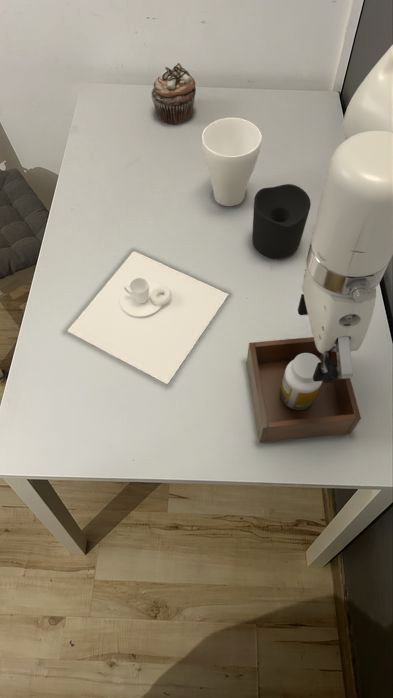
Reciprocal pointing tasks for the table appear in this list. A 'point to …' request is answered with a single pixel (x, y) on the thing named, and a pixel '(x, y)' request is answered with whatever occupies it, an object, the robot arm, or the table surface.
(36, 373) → the table surface
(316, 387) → the supplement bottle
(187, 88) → the cupcake
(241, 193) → the cup
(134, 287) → the teacup and saucer
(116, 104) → the table surface
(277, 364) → the holder
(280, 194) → the pen holder
